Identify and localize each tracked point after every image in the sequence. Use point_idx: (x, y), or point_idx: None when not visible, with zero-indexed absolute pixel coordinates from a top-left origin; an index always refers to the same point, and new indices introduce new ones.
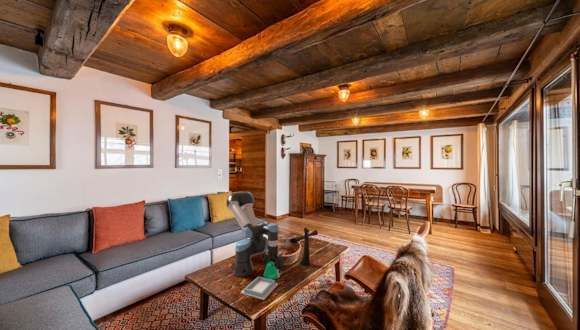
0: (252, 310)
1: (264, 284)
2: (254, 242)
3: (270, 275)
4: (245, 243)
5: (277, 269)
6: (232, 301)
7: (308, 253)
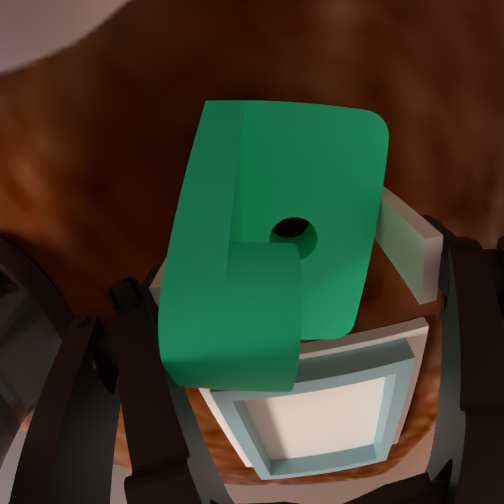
0: (376, 469)
1: (326, 392)
2: None
3: (309, 314)
4: None
5: (418, 298)
6: (264, 482)
7: None
